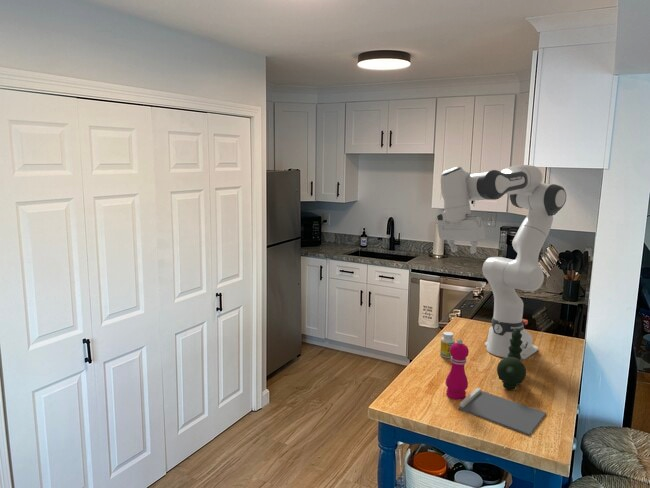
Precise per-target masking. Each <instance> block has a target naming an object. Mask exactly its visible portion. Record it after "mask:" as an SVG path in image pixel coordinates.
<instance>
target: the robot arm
mask: <svg viewBox="0 0 650 488" xmlns="http://www.w3.org/2000/svg"><path fill="white" fill-rule="evenodd" d="M440 189H441V196H442V199H443V209H444V211H441V212H440V213H438V214H436V216H435V220H436V221H437V224H436V225H437V233H438V237H439V238H440V240H441V241H443V240H445V241H447V244H448V245H449V247H450V250H451V253H456V252H458V251H459V249H458V246H456V244H455V241H460V242H461V241H466V242H469V244H471V245H470V248H469V253H470V254H475V253H476V254H477V246H478V245H479V242H480V241H483V240H485V239H486V231H485V227H484V224H483V221H482V218H481V216H480V215H478V214H477V213H472V211H471V210H472V209H471V205H470V202H471V201H484V200H485V201H487V200H492V201H494V200H498V199H500V198H502V197H503V196H504V195H509V200H510V203H511V204H512V206H514V207H515V208H519V209H526V210H528V213H527V215H526V217H525V218H524V219H523V221H522V222H521V224H520V226H519V228H518V230H517V232H516V233H515V235H514V237H513V239H512V242H511V244H512V245H511V246H512V247H513V250H514V251H515V252H516V253H517V255H516V257H515V259H511V258H506V257H502V256H490V257H488V258H487V259H486V260H484V262H483V265H482V267H481V268H482V269H481V270H482V274H483V277H484V278H485V279H486V280H487V282H488V283H489V286H490V288H491V290H492V294H493V303H494V304H493V316H492V319H491V326H490V327H489V330H488V335H487V341H485V342H484V345H485V347H486V352H488V353H490V354H492V355H494V356H497V357H500V358H506V357H508V354H509V347H510V346H511V343H510V339H512V333H513V330H514V329H515V328H518V329H520V333H521V334H522V337H521V341H522V342H523V343H522V344H521V346H520V347H521V349H522V352H521V353H520V355H521V360H527V359H528V358H529V357H531V356H532V355H534V353H536V352H538V350H539V347H538V346H537V345H535V344H533V336H532V334H531V333H529V332H528V331H527V330H526V329H525V326H527V325H528V323H529V321H528V319H525V318H523V315H524V305H525V304H524V301H523V299H522V298H521V297H520V296H519V295H518V294H517V292H516V290H520V291H527V292H529V291H530V292H535V291H537V290H539V289H540V288H541V287H542V285H543V283H544V280H545V276H544V275H545V274H544V271H543V270H542V268H541V267H540V264H539V256H540V252H541V250H542V249H543V246H544V244H545V242H546V240H547V238H548V236H549V234H550V231H551V229H552V226H553V220H554V216H555V215H557V213H558V212H559V211H560V210H561V209H562V208H563V207H564V206H565V204H566V201H567V192H566V190H565V188H564V187H563V186H561V185H559V184H554V183H553V184H550V183H544V182H543V173H542V171H541V169H539V168H538V167H537V166H535V165H529V164H518V165H517V164H515V165H511V166H508V167H506V168H503V169H502V170H501V171H499V170H497V169H493V170H491V169H490V170H488V171H481V172H476V173H472V172H471V173H470V172H468V171H466V170H464V169H463V167H461V166H455V167H452V168H449V169H446V170H444V171H443V172H441V175H440ZM524 325H525V326H524Z"/></svg>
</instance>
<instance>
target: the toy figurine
mask: <svg viewBox="0 0 650 488" xmlns="http://www.w3.org/2000/svg"><path fill="white" fill-rule="evenodd" d="M521 337H522V334H521V333H520V329H518V328H515V329H514V330H513V333H512V339H510V343H511V346H510V347H509V354H508V357H506V358H505V357H503V358H502V359H501V360H500V361H499V362H498V364H497V367H496V373H497V376H498V379H499V380H501V381H502V382H503V383H502V385H503V388H504V389H506V390H507V391H515V390H516V389H517V385H519V384H520V385H521V384H522V382H523V381H524V380H525V379H526V376H527V369H526V366H525V364H524V362H522V359H521V355H520V353H521V352H522V349H521V347H520V346H521V344H522V343H523V342H522V341H521Z"/></svg>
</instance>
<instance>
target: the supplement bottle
mask: <svg viewBox="0 0 650 488" xmlns="http://www.w3.org/2000/svg"><path fill="white" fill-rule="evenodd" d="M442 333H443V334H442V337H441V338H440V350H439V351H440V352H439V353H440V354H439V355H440V356H441V357H442V358H444V359H451V356H452V355H451V354H450V347H451V346H452V345H453V344H454V343H456V341H455V339H454V333H453V332H451V331H443V332H442Z"/></svg>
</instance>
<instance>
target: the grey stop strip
mask: <svg viewBox="0 0 650 488" xmlns="http://www.w3.org/2000/svg"><path fill="white" fill-rule="evenodd" d="M481 391H482V388H480V387H476V388H475V389H474V390H473V391H471V392H470V393H469V394H468V395H467V396H465V398H464V399H462V401H461V400H460V402H459V406H460V407H464V406H465V405H467V404H468V403H469V402H470V401H471V400H472V399H473V398H474V397H476V396H477V395H478V394H479V393H480V392H481Z"/></svg>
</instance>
